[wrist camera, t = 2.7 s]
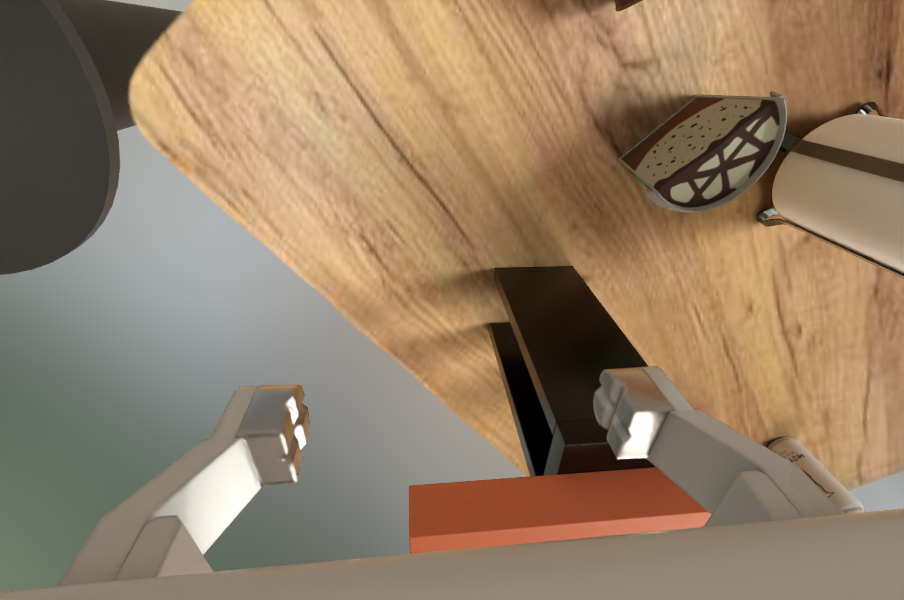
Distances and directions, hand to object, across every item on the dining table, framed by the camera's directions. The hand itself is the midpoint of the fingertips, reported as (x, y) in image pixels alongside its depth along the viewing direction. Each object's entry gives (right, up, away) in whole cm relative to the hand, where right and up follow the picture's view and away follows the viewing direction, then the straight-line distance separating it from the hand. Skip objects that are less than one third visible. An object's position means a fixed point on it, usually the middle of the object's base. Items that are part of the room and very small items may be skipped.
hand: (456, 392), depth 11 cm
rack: (+10, +2, +41) cm, 43 cm away
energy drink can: (+63, -25, +66) cm, 94 cm away
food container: (+23, +19, +33) cm, 44 cm away
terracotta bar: (+9, -12, +19) cm, 24 cm away
